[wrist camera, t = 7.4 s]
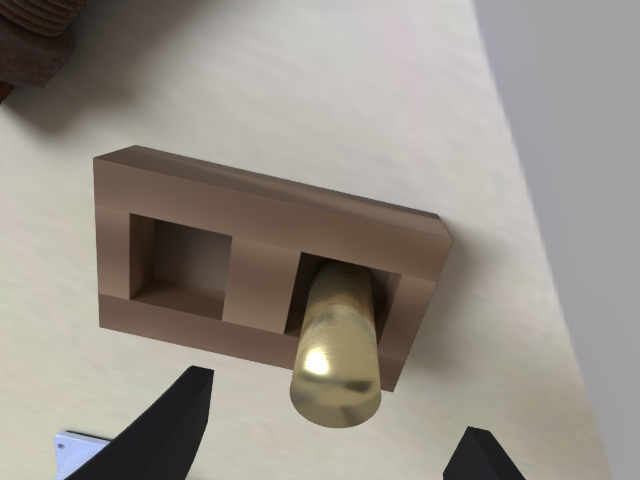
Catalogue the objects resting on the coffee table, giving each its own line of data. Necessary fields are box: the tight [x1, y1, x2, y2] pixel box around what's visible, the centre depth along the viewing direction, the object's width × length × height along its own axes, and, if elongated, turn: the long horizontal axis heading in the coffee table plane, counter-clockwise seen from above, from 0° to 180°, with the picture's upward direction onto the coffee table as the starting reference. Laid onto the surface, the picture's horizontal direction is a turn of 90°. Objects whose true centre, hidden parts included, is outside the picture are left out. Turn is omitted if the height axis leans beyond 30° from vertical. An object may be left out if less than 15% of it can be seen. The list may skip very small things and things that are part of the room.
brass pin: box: [290, 258, 381, 428], centre depth 15 cm, size 3×3×7 cm
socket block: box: [93, 145, 453, 392], centre depth 17 cm, size 8×14×3 cm, turn 78°
